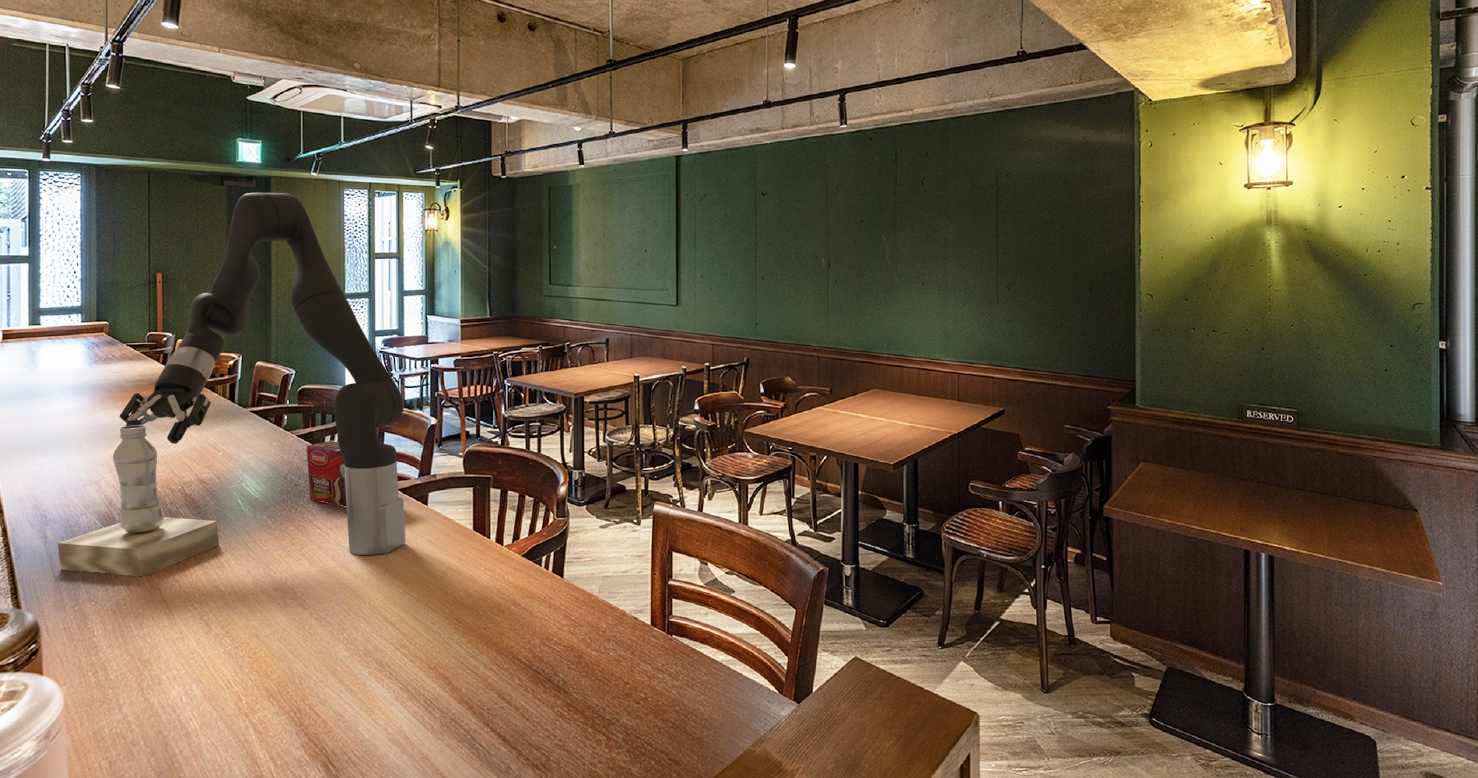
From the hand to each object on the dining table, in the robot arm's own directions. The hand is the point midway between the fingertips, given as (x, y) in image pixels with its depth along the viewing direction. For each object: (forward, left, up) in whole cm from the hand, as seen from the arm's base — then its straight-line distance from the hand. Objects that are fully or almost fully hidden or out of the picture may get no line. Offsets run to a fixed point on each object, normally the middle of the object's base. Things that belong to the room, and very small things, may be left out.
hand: (148, 441), depth 140 cm
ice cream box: (-15, -35, -22) cm, 44 cm away
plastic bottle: (-1, +4, -17) cm, 17 cm away
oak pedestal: (-1, +4, -21) cm, 22 cm away
